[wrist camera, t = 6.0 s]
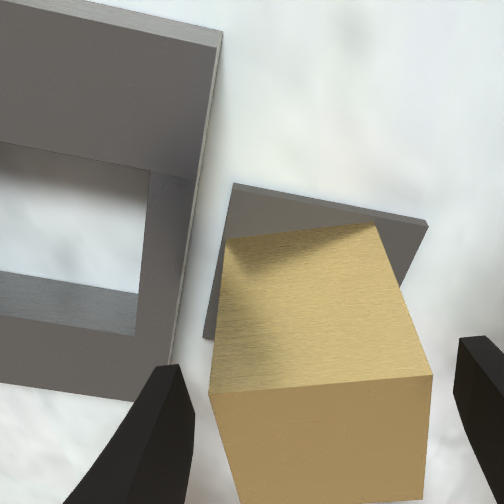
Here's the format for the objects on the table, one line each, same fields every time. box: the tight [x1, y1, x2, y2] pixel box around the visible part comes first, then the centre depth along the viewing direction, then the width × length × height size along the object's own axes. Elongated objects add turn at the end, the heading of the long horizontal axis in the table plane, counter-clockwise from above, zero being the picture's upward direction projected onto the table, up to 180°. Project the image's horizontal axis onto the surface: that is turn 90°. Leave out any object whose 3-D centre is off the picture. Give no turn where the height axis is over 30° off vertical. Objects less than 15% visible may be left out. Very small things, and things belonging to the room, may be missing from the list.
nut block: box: [208, 221, 433, 504], centre depth 13 cm, size 4×4×6 cm
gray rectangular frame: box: [0, 0, 223, 402], centre depth 14 cm, size 8×12×2 cm, turn 168°
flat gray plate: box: [202, 183, 429, 340], centre depth 16 cm, size 6×6×1 cm
